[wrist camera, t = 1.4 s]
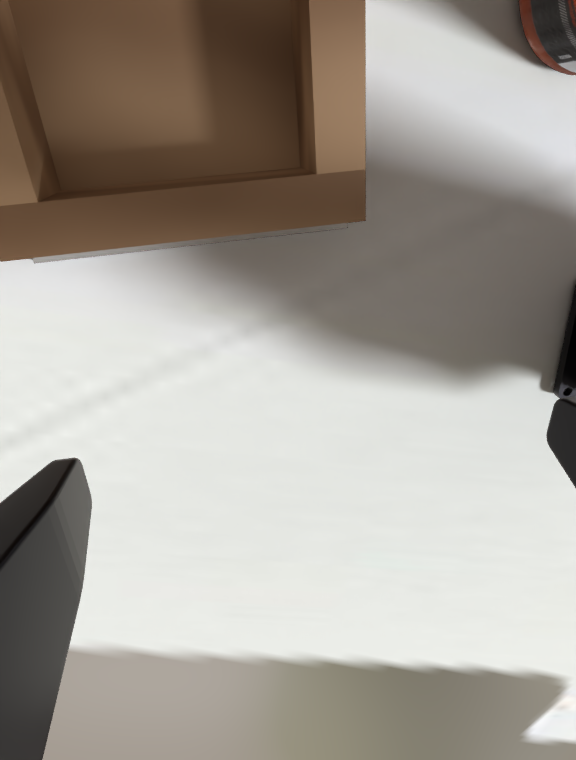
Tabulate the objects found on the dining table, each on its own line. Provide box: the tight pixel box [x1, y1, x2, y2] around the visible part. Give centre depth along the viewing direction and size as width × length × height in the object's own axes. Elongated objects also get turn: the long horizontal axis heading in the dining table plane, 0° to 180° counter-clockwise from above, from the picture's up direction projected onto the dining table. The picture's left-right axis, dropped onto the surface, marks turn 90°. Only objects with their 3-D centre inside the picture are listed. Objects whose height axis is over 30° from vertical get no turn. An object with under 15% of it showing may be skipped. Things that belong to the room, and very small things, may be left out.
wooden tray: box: [0, 0, 366, 262], centre depth 14 cm, size 11×11×4 cm
